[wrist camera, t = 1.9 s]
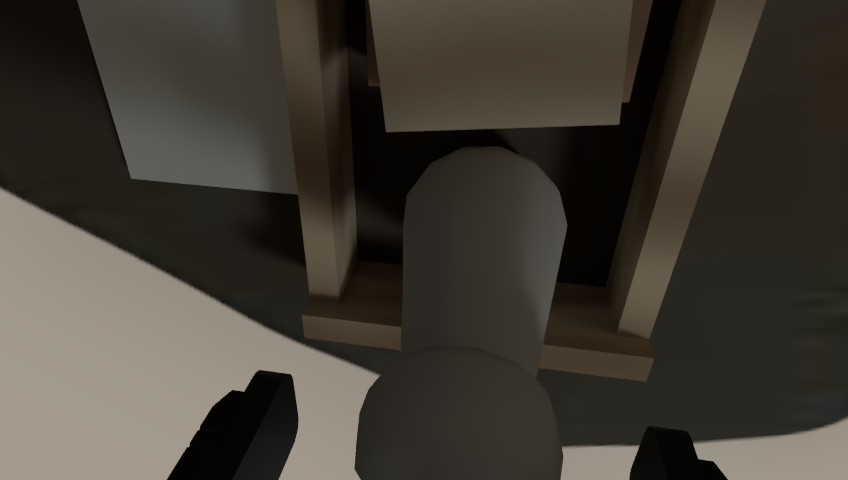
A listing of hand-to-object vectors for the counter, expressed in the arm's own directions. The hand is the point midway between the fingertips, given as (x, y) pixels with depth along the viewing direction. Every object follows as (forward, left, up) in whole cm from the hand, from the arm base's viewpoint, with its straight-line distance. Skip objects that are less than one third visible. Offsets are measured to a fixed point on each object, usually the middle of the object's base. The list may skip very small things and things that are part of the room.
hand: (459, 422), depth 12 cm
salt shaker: (0, 0, -11) cm, 11 cm away
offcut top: (-7, 0, -8) cm, 11 cm away
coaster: (-4, -11, -11) cm, 16 cm away
